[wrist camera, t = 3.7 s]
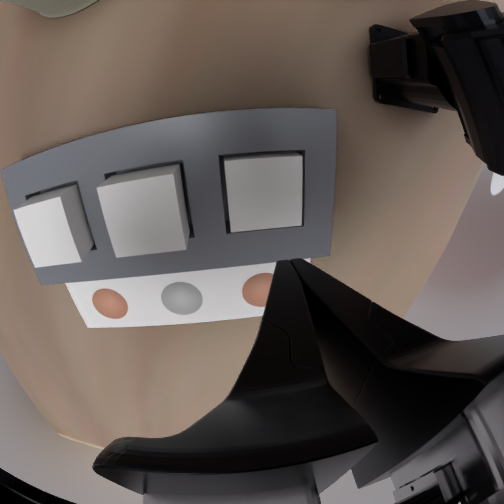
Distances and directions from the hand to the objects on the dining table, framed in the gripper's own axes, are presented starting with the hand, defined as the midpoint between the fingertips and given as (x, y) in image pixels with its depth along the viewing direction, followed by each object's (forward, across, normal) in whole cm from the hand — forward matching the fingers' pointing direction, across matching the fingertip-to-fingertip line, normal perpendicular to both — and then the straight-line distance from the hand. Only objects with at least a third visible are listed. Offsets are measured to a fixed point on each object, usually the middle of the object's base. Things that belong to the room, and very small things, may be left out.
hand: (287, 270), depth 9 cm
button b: (+10, 0, 0) cm, 10 cm away
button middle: (+8, +7, 0) cm, 11 cm away
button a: (+9, +14, 0) cm, 16 cm away
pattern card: (+11, +6, +9) cm, 16 cm away
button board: (+11, +6, 0) cm, 13 cm away
